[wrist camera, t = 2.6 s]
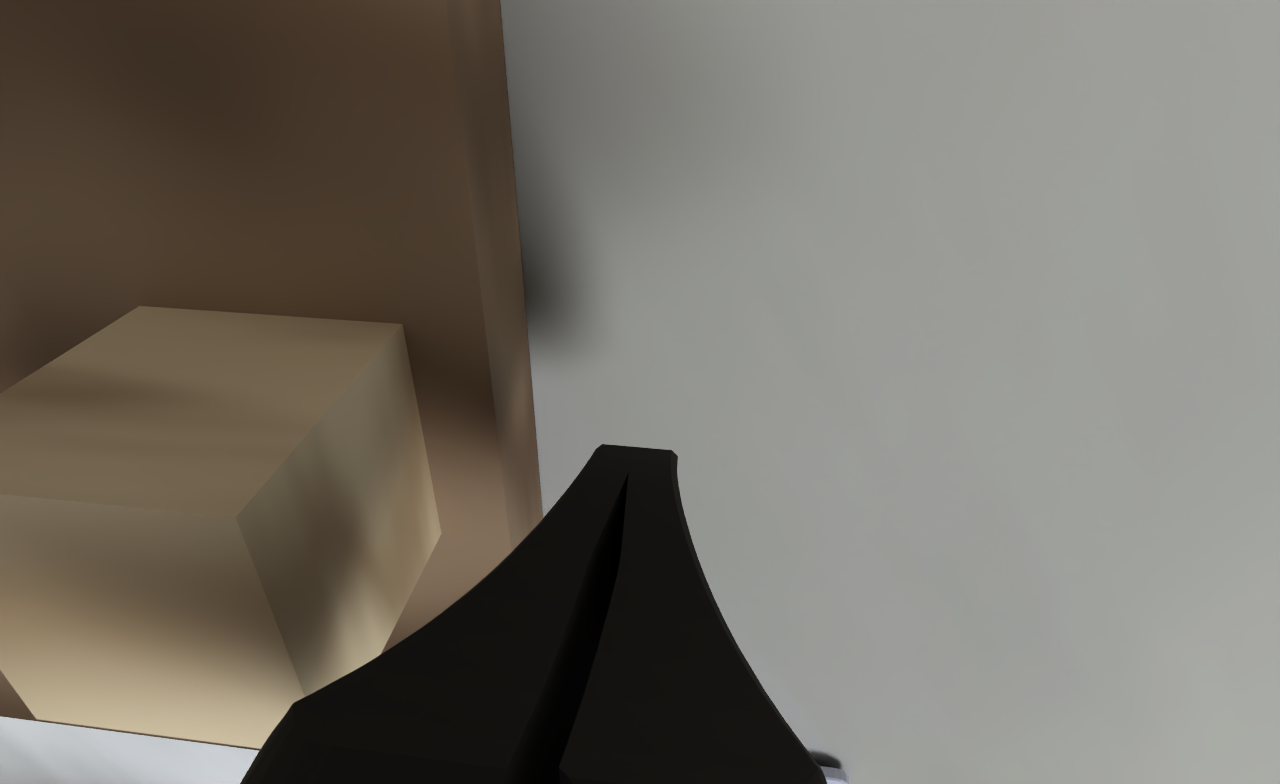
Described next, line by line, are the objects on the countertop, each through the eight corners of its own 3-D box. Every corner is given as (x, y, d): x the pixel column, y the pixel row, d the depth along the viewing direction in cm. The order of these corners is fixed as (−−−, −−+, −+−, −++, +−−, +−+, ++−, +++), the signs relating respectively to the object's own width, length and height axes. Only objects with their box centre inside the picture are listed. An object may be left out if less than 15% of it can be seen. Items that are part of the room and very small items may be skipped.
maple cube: (441, 533, 16) (329, 757, 11) (221, 511, 16) (36, 719, 12) (402, 324, 13) (236, 517, 9) (139, 305, 13) (-138, 480, 9)
